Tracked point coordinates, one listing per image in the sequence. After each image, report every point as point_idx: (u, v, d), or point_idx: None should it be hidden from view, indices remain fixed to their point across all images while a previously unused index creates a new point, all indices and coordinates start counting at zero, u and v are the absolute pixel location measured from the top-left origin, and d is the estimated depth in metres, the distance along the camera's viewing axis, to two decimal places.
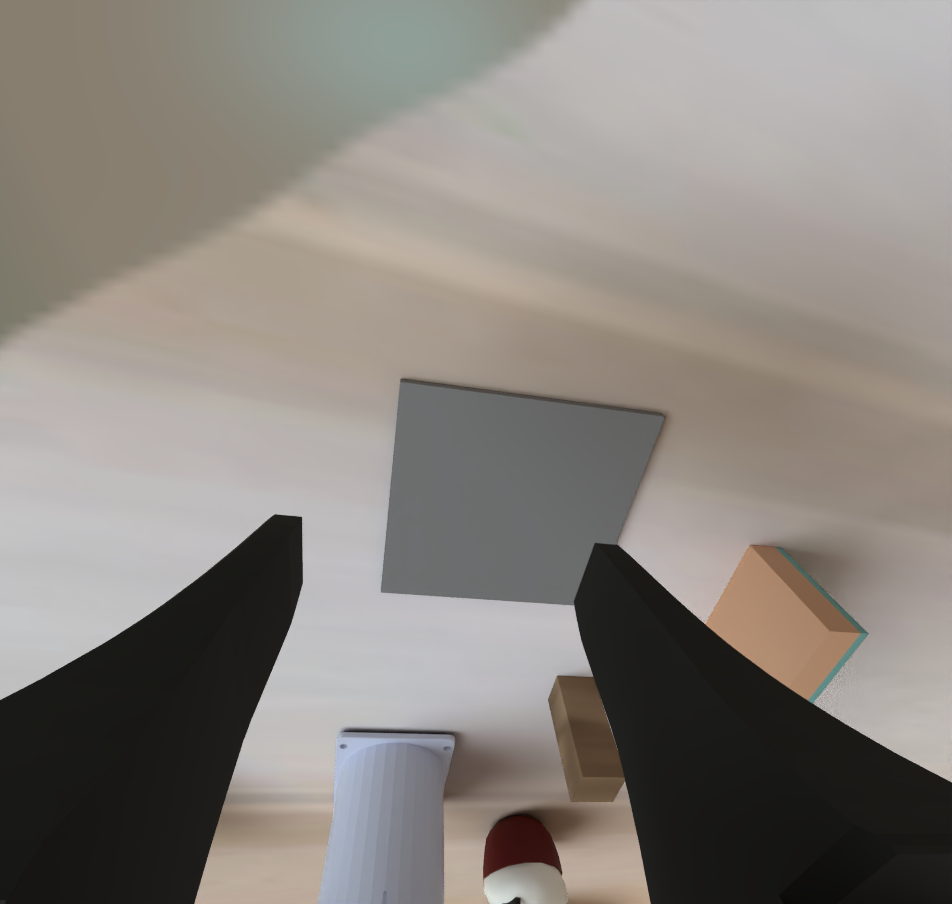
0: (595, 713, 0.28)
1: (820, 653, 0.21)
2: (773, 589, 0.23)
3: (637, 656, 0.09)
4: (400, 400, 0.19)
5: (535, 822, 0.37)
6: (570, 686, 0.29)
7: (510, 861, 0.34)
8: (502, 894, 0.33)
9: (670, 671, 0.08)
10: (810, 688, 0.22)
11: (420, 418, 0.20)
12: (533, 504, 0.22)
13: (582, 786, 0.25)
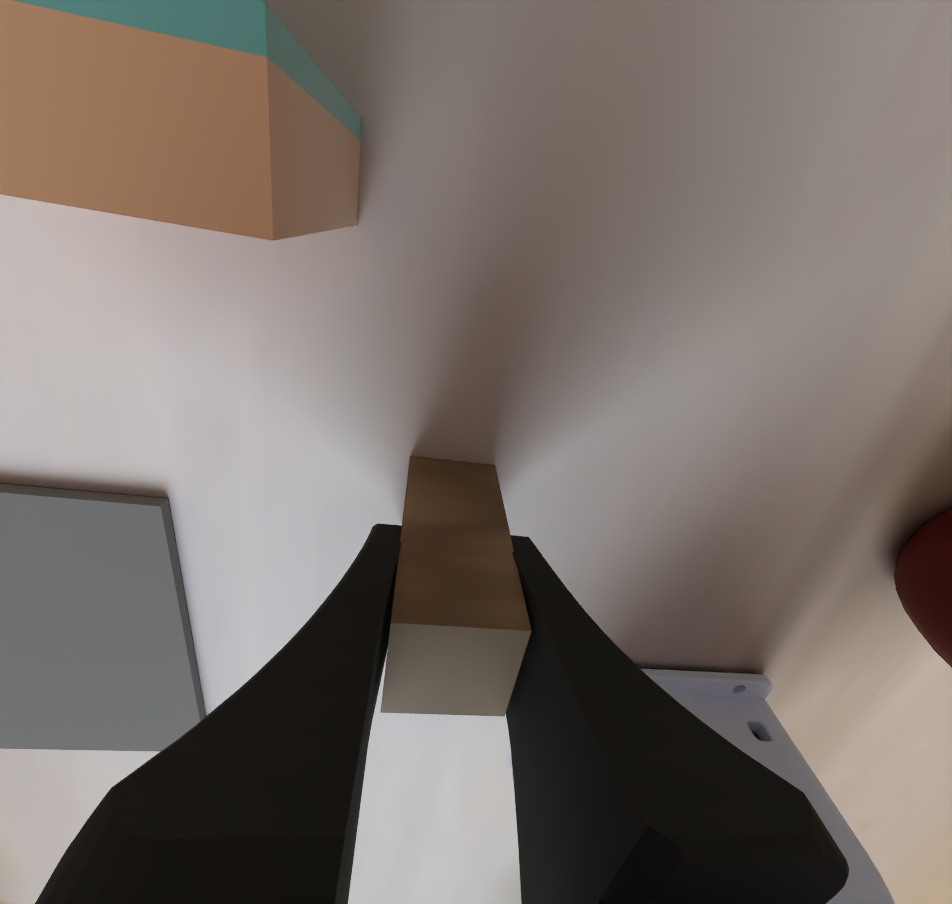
0: None
1: None
2: None
3: (526, 651, 0.09)
4: None
5: (935, 527, 0.15)
6: None
7: None
8: None
9: (545, 665, 0.08)
10: None
11: None
12: None
13: (430, 706, 0.09)
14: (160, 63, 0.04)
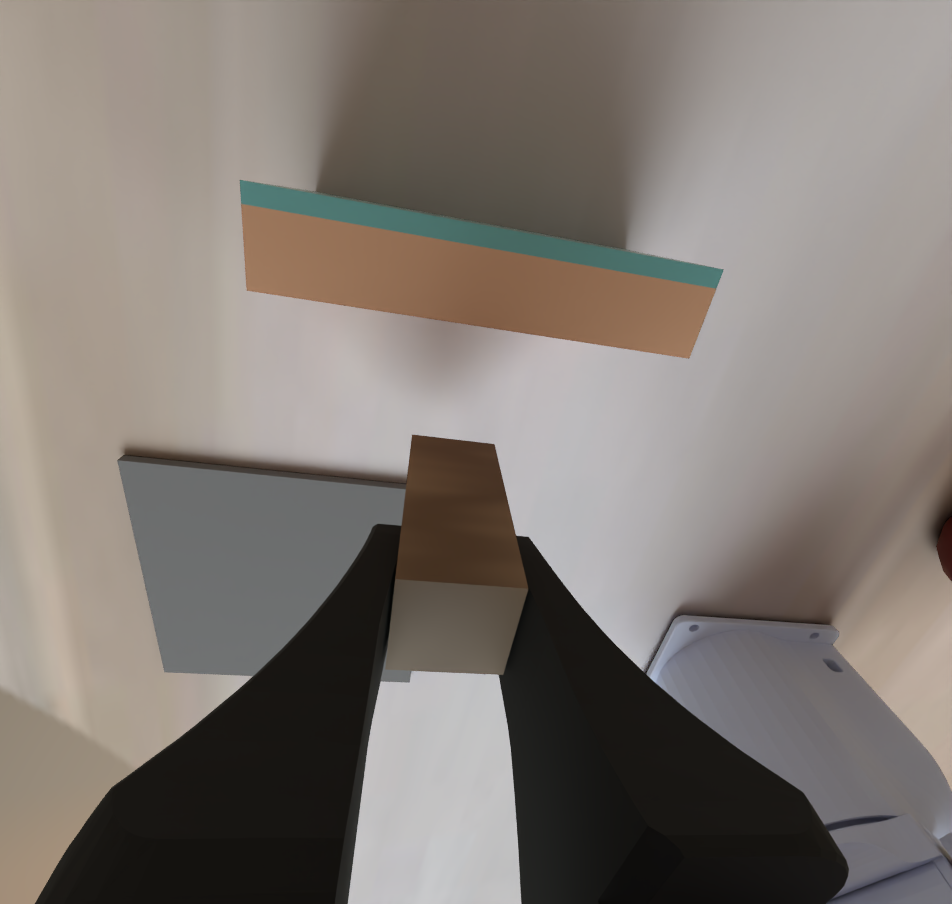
0: None
1: (317, 284, 0.09)
2: None
3: (526, 651, 0.09)
4: (182, 671, 0.22)
5: None
6: None
7: None
8: None
9: (545, 665, 0.08)
10: (441, 259, 0.09)
11: (195, 660, 0.22)
12: (275, 572, 0.20)
13: (433, 663, 0.09)
14: (672, 292, 0.10)
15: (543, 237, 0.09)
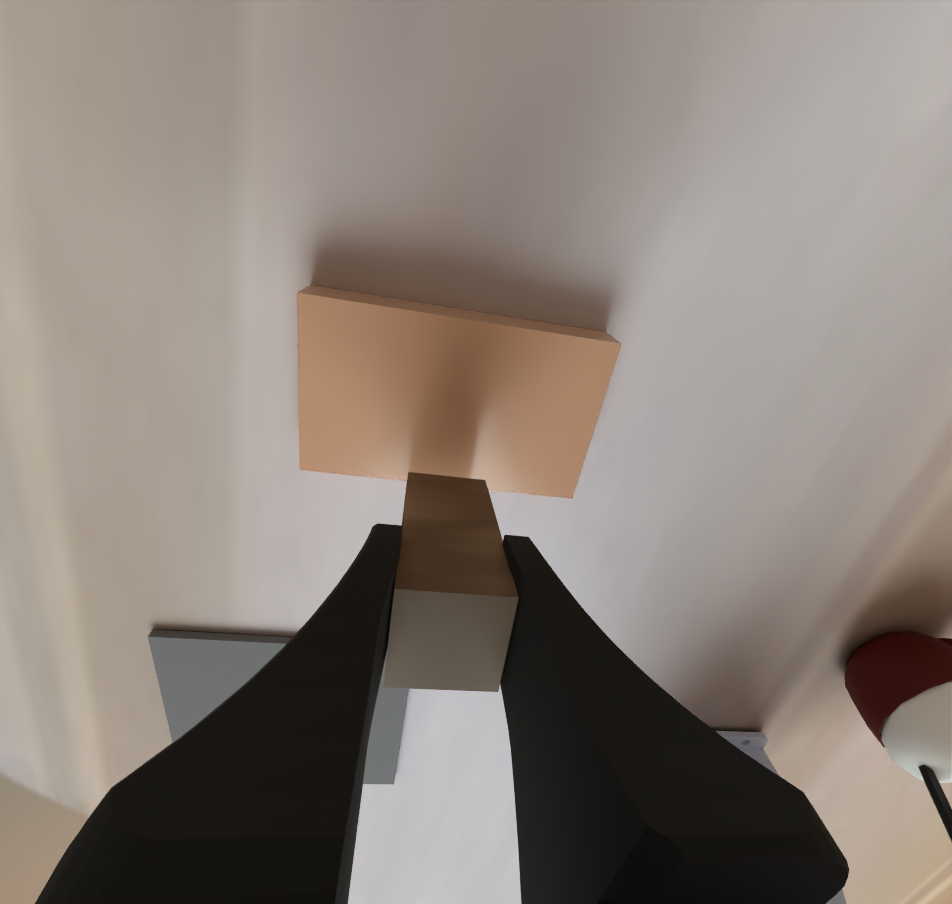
0: None
1: (349, 298, 0.14)
2: (323, 401, 0.15)
3: (526, 651, 0.09)
4: None
5: (867, 650, 0.24)
6: None
7: (874, 729, 0.23)
8: None
9: (545, 665, 0.08)
10: (432, 306, 0.15)
11: None
12: None
13: (429, 680, 0.10)
14: (581, 328, 0.16)
15: None
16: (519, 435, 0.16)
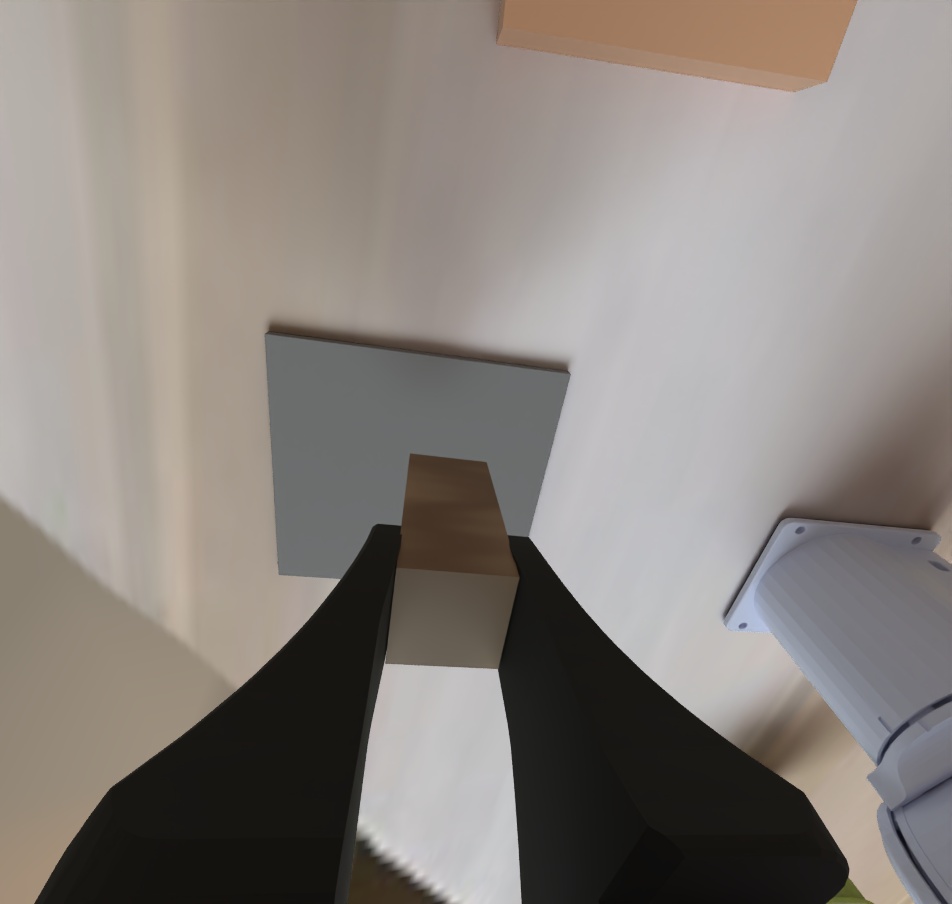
0: None
1: None
2: None
3: (526, 651, 0.09)
4: (296, 574, 0.23)
5: None
6: None
7: None
8: None
9: (545, 665, 0.08)
10: None
11: (310, 561, 0.22)
12: (400, 463, 0.20)
13: (430, 657, 0.10)
14: None
15: None
16: None
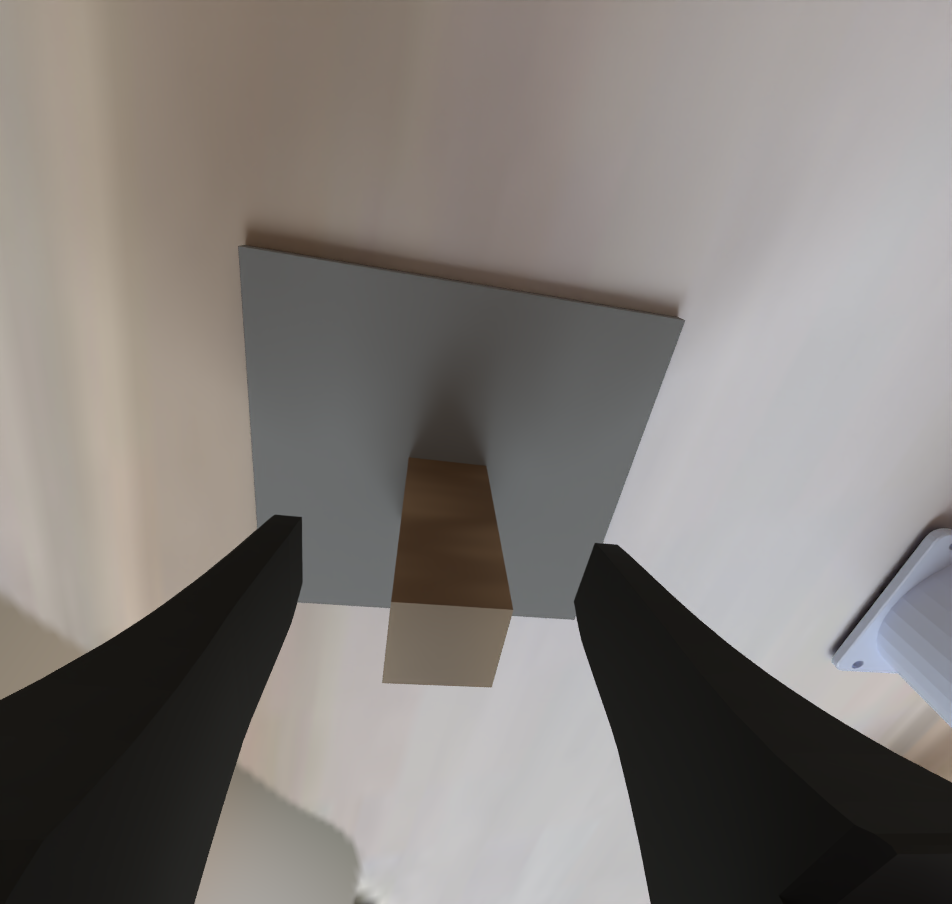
0: None
1: None
2: None
3: (637, 657, 0.09)
4: None
5: None
6: None
7: None
8: None
9: (670, 671, 0.08)
10: None
11: (305, 582, 0.16)
12: (433, 448, 0.14)
13: (426, 677, 0.10)
14: None
15: None
16: None
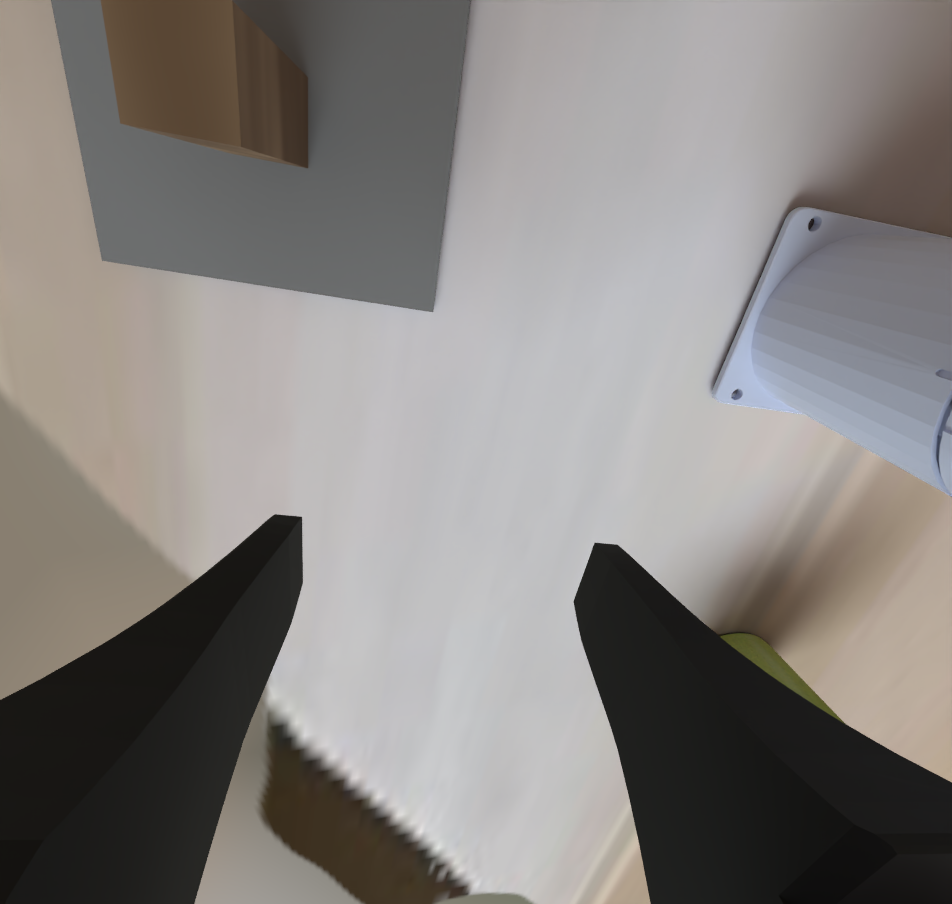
0: None
1: None
2: None
3: (637, 657, 0.09)
4: (126, 262, 0.16)
5: None
6: None
7: None
8: None
9: (670, 671, 0.08)
10: None
11: (144, 238, 0.16)
12: None
13: (166, 119, 0.10)
14: None
15: None
16: None
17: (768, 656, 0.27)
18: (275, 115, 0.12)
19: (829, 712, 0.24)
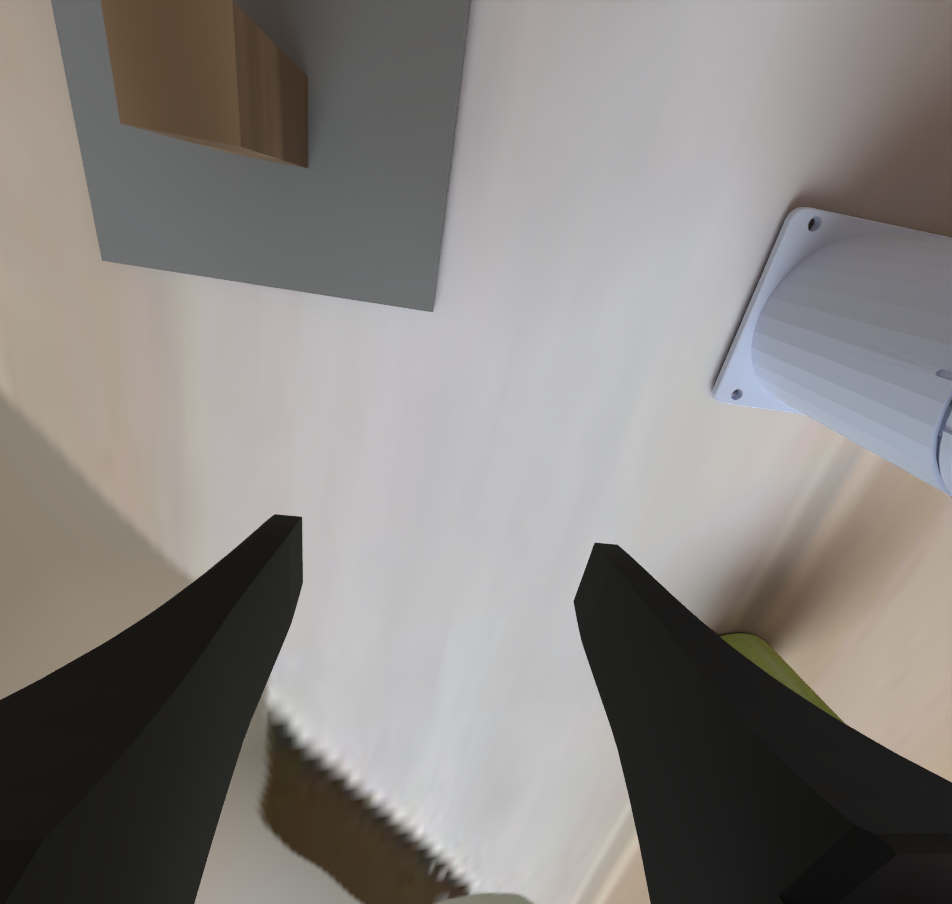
0: None
1: None
2: None
3: (637, 657, 0.09)
4: (126, 262, 0.16)
5: None
6: None
7: None
8: None
9: (670, 671, 0.08)
10: None
11: (144, 238, 0.16)
12: None
13: (166, 119, 0.10)
14: None
15: None
16: None
17: (768, 656, 0.27)
18: (275, 114, 0.12)
19: (829, 712, 0.24)
